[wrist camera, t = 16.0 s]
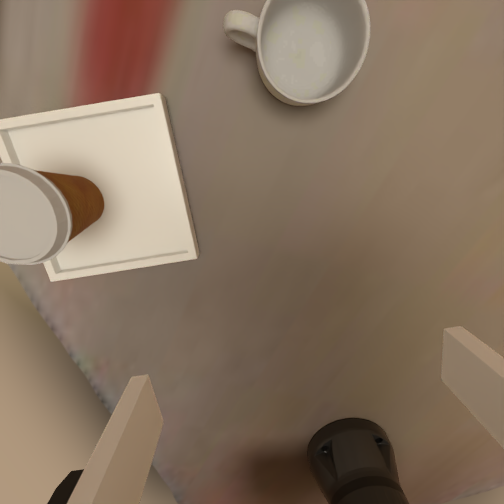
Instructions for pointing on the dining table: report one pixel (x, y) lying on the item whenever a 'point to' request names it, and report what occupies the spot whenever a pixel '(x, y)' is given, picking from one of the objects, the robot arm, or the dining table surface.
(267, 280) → the dining table surface
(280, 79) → the teacup
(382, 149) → the dining table surface
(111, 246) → the tray
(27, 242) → the disposable coffee cup
